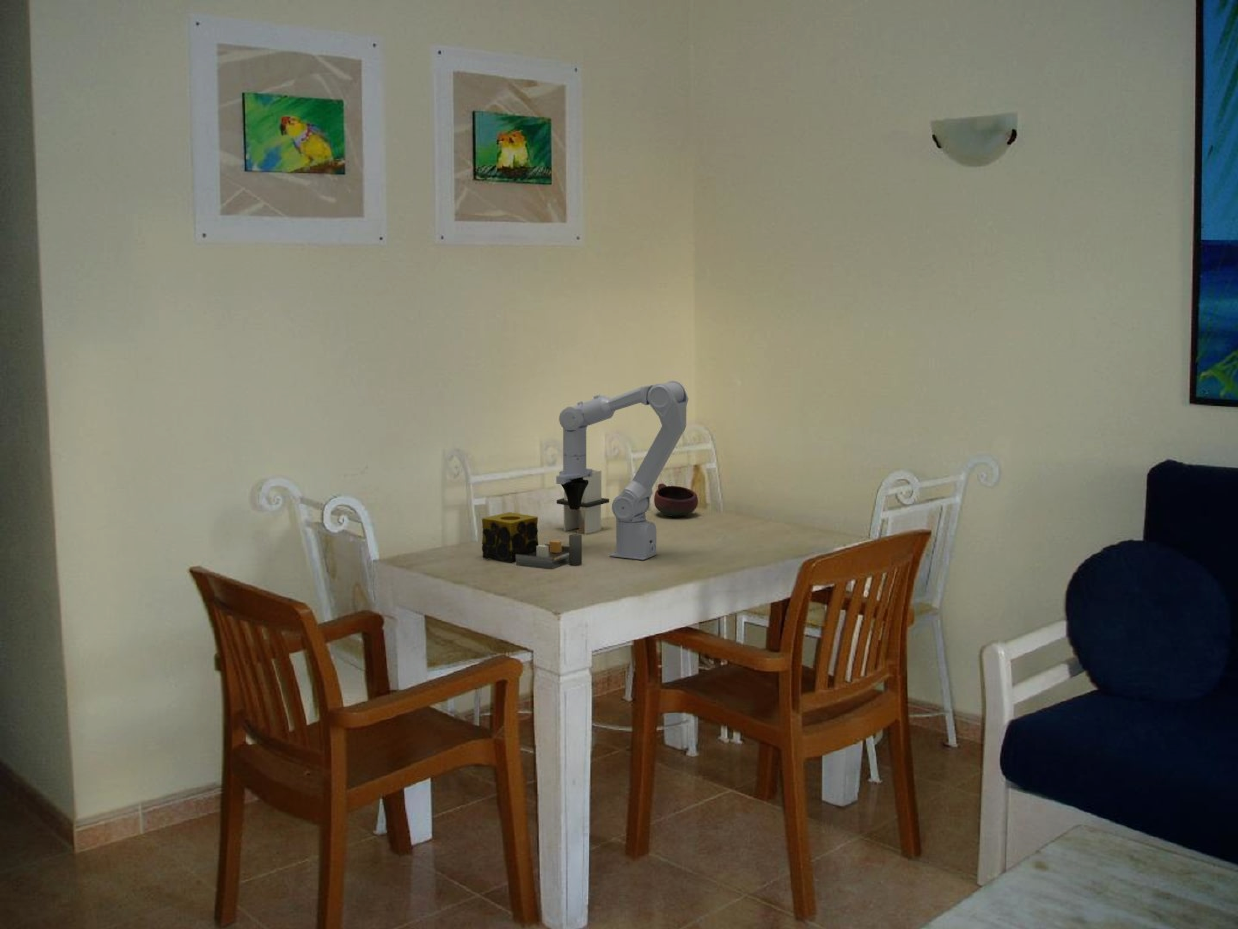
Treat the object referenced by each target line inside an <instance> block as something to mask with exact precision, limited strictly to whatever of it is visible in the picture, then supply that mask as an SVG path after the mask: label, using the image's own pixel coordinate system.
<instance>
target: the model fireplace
mask: <svg viewBox="0 0 1238 929" xmlns="http://www.w3.org/2000/svg"><path fill="white" fill-rule="evenodd" d="M583 480H588V485H587V487H586V489H585V491H584V494H583V497H582V501H581V505H580V509H578V510H573V509H570V507H569V503H568V499H567V496H566V493H565V491H564V490H563V496H564V497H563V498H559V499H556V505H563V531H564V532H567V531H570V530H574V529H577V531H575V534H580V535H582V534H583V535H588V534H591V533H595V532H599V531H601V530H602V509H601V508H602V505H604V504H608V503H610V499H609V498H604V497H602V470H597V469H592V477H585V478H583ZM578 528H579V529H578Z"/></svg>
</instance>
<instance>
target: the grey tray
mask: <svg viewBox="0 0 1238 929" xmlns="http://www.w3.org/2000/svg"><path fill="white" fill-rule="evenodd" d="M544 545H546V546H549V556H548V557H540V556H537V553H536V552H533V553H530V554H528V555H523V554H516V562H515V565H516V566H521V567H523V566H524V567H531V568H539V569H546V570H547V569H548V570H554V569H556V568H559V567H562V566H564V565H566V564H569V545H562V552H559V553H556V552H550V543H544Z"/></svg>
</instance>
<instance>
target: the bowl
mask: <svg viewBox="0 0 1238 929" xmlns="http://www.w3.org/2000/svg"><path fill="white" fill-rule="evenodd" d="M653 498H654V499H653V500H654V501H653V502H654V506H655V508H656V509H657V511H659V513H661V514H663V515H667V516H669V517H673V516H680V517H685V516H688V515H690V514H693V512H694V511H696V509H697V507H698V504H699V499H698V498H699V497H698V495H697V493H696V492H695V491H693V490H692V489H690V488H687V487H683V486H677V485H666V484H664V483H659V484H658V485H657V489H656V491H655V493H654V497H653ZM684 515H685V516H684Z"/></svg>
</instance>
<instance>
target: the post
mask: <svg viewBox="0 0 1238 929" xmlns="http://www.w3.org/2000/svg"><path fill="white" fill-rule="evenodd" d="M582 537H583V536H582V534H581V533H572V534H569V535H568V546H569V563H568V565H569V566H571V567H572V566H573V567H577V566H582V565H583V551H582V550H583V539H582Z"/></svg>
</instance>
